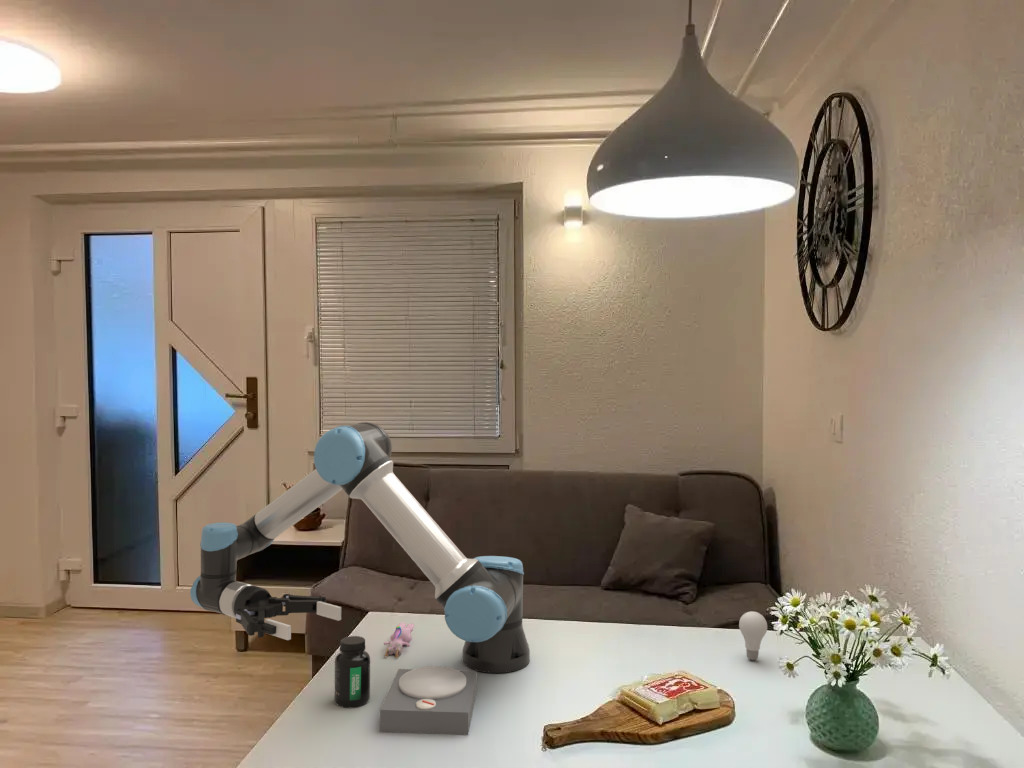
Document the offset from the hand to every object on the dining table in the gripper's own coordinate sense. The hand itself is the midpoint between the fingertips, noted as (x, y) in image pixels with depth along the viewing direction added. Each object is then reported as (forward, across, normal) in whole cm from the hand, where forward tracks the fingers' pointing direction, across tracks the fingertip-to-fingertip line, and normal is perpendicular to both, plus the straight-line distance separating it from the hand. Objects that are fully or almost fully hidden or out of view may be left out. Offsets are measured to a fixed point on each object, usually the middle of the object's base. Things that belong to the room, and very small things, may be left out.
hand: (315, 623), depth 153 cm
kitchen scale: (+26, -6, -13) cm, 29 cm away
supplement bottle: (+10, 0, -14) cm, 17 cm away
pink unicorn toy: (0, -27, -14) cm, 30 cm away
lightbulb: (+71, -65, -12) cm, 97 cm away
